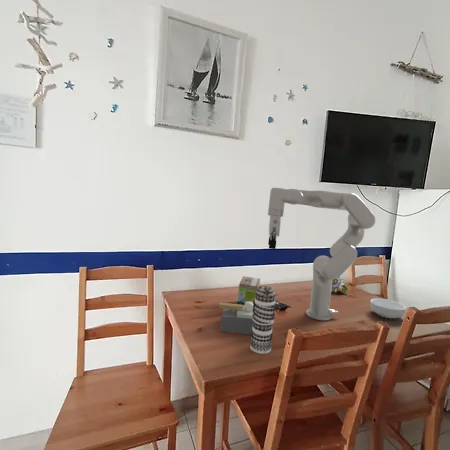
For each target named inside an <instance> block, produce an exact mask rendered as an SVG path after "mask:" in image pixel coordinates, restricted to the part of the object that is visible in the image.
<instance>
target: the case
mask: <svg viewBox="0 0 450 450" xmlns="http://www.w3.org/2000/svg"><path fill="white" fill-rule="evenodd" d="M222 309H223V310H222V314H221V321H220V332H222V333H232V334H239V335H240V334H241V335H250V336H251V331H252V326H253V319H250V318H240V317H237V310H235V309H233V313H228V311H229V309H225V308H222Z"/></svg>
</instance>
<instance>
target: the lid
mask: <svg viewBox="0 0 450 450" xmlns="http://www.w3.org/2000/svg"><path fill="white" fill-rule="evenodd" d="M253 305H254V304H253V302H250V301H246V302H245V306H243V310H237V317H240V318H250V319H252V318H253ZM254 312H255V311H254Z"/></svg>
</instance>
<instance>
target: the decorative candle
mask: <svg viewBox="0 0 450 450" xmlns="http://www.w3.org/2000/svg"><path fill="white" fill-rule="evenodd" d="M255 292H256V297H255V299H254V300H253V304H254V305H253V318H252V319H253V326H252V331H251V335H250V336H251V337H250V343H249V344H250V346H249V348H250V350H251V351H253V352H254V353H256V354H261V355H265V354H269V353H270V352H271V351H272V343H273V324H274V322H275V316H276V313H275V311H276V310H277V308H276V307H277V304H276V300H275V299H276V298H275V297H276V294H277V292H276V291H275V290H274V288H272V287H271V286H267V285H260V286H259V288H258V289H256V290H255ZM254 311H255V312H254Z"/></svg>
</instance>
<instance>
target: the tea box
mask: <svg viewBox="0 0 450 450" xmlns="http://www.w3.org/2000/svg"><path fill="white" fill-rule="evenodd" d="M238 285H239V286H238V295H237V303H236V304H240V305H243V306H245V302H246V301H250V302H253V300H254V299H255V297H256V292H255V290H256V289H258V288H259V287H260V286H261V278H258V277H252V276H245V275H244V276H242V278H241V280H240V282H239V284H238Z"/></svg>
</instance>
